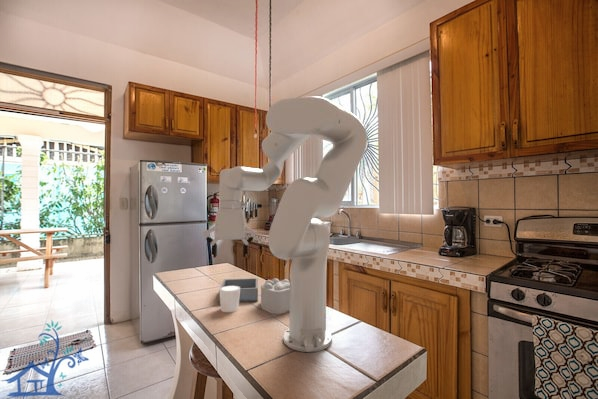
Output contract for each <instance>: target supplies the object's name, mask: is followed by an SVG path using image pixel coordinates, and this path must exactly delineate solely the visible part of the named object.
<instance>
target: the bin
mask: <svg viewBox="0 0 598 399" xmlns="http://www.w3.org/2000/svg"><path fill="white" fill-rule="evenodd" d="M258 280H259V278H257V277H256V278H229V279H225V278H224V279H223V281H222V283H221V285H220V286H219V289H220V288H221V287H224V286H231V285H234V286H239V287H240V297H239V303H242V302H243V303H246V302H259V294H258V293H259V283H258V282H259V281H258ZM218 302H219V304H221V303H220V291H219V292H218Z"/></svg>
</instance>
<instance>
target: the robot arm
mask: <svg viewBox="0 0 598 399" xmlns="http://www.w3.org/2000/svg"><path fill="white" fill-rule="evenodd" d="M265 124H266V126H267V128H268V130H270V131H271V132H269V133H268V135H267V136H266V137H265V138H264V139H263V140H262V142H261V150H262V152H263V153H264V155H265V157H266V158H267V159H268V161H267V163H266V164H264V166H263V167H261V168H256V167H247V166H241V165H240V166H239V165H238V166H234V167H232V168H224V169H221V170H220V173H219V196H218V197H219V199H218V200H219V201H218V202H219V206H218V209H217V210H216V213H215V214H216V215H215V219H214V220H215V222H214V226H213V227H211V228H209V229H207V230H205V231H203V232H202V233H203V235H204V238H205V239H206V241H207V242H208V243H209V244H210V245H211V255H213V256H212V258H216V257H218V244H217V242H218V241H219V240H221V241H222V240H223V241H224V240H225V241H227V240H228V241H229V240H233V241H235V240H236V241H237V240H239V241H242V243H243V245H242V248H243V249H242V250H243V251H242V257H243V258H246V257H247V256H246V255H248V254H249V253H248V251H249V244H250V243H251V242H252V241H253V240H254V238H255V236H256V235H257V231H255V230H253V229H252V228H250V227H249V226H247V224H246V212H245V210H244V209H243V208H244V207H247V202H243V192H244V191H245V192H246V191H251V192H252V191H253V192H264V191H265V190H267V189H269V188H270V187H271V186H272V185H273V184H275V183H276V182H277V181H278V180H279V179H280V177H281V175H282V173H283V170H284V166H285V165H284V164H285V161H286V160H287V159H288V158H289V157H291V155H292V154H294V152H295V151H296V150H297V149H298V148H300V147H301V146H302V145H303V144H305V142H306V141H307V140H308V139H309V138H310V137H314V138H318V139H321V140H323V141H325V142H326V141H327V142H329V143H331V144H332V147H331V148H330V149H329V150H328V152H326V154H324V156H323V158H322V160H321V162H320V163H319V164H320V165H319V167H318V169H317V172H316V173H315V174H314V175H315V176H314V177H300V178H296V179H294V180H293V181H292V182H291V183H290V184H289V185H288V186H286V189H285V190H284V191H283V195H282V196H281V198H280V202H279V204H278V206H277V208H276V211H275V215H274V217H273V219H272V222H271V224H270V227H269V228H270V229H269V232H268V238H267V241H268V248H269V250H270V252H271V253H272V255H274V256H275V257H276V258H277V259H280V260H288V261H289V260H291V264H290V268H289V282H290V311H289V318H288V319H289V323H288V326H289V327H288V329H286V330H285V331H284V333H283V337H282V338H283V343H284V344H285V345H286V347H288V348H289V349H292V350H295V351H298V352H302V353H303V352H304V353H312V352H313V353H314V352H319V351H323V350H324V349H327V348H328V347H329V346H330V345H331V344H332V342H333V335H332V333H331V332H330V331H329V330H328V329H327V263H328V261H327V260H328V254H329V248H330V243H331V238H330V237H331V236H330V230H329V228H328V227H327V225H326V224H325V222H324V221H322V220H321V219H325V218H330V217H333V216H334V215H335V214H336V213H337V212H338V211H339V209H340V208H341V205H342V202H343V200H344V198H345V196H346V193H347V191H348V189H349V187H350V185H351V182H352V180H353V178H354V175H355V173H356V171H357V168H358V166H359V165H360V163H361V161H362V158H363V157H364V154H365V152H366V148H367V145H368V144H367V143H368V136H367V135H368V134H367V130H366V128H365V126H364V124H363V123H362V121H361V120H360V119H359V118H358V117H357V116H356V115H355V114H354V113H352V112H351V111H349V110H348V109H346V108H344V107H343V106H341V105H339V104H337V103H334V102H333V101H331V100H330V99H328V98H325V97H322V96H305V97H304V96H303V97H292V98H291V97H290V98H289V97H288V98H283V99H279V100H276V101H275V102H274V103H273V104H272V105H271V106H269V108H268V110H267V113H266V115H265ZM213 232H214V236H213V237H214V238H212V237H211V236H210V233H213ZM246 233H249V234H251V235H250V236H249V238H247V237H246V235H247V234H246Z"/></svg>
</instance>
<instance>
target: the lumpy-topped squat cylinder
mask: <svg viewBox="0 0 598 399" xmlns="http://www.w3.org/2000/svg"><path fill="white" fill-rule="evenodd" d="M260 308H261V309H263V310H264V311H266V312H268V313H271V314H272V315H273V314H275V315H281V314H284V313H288V312H290V279H287V278H285V279H282V280H280V279H279V278H276V277H275V278H272V279H267V280H266V281H264V282H262V283H261V285H260Z"/></svg>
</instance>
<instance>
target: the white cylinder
mask: <svg viewBox="0 0 598 399" xmlns="http://www.w3.org/2000/svg"><path fill="white" fill-rule="evenodd" d="M220 287H221V286H220ZM220 287H219V291H220V303H219V304H220V310H221V312H223V313H233V312H236V311H238V310H239V305H240V302H239V297H240V287H239V286H234V285H231V286H224V287H221V288H220Z"/></svg>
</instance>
